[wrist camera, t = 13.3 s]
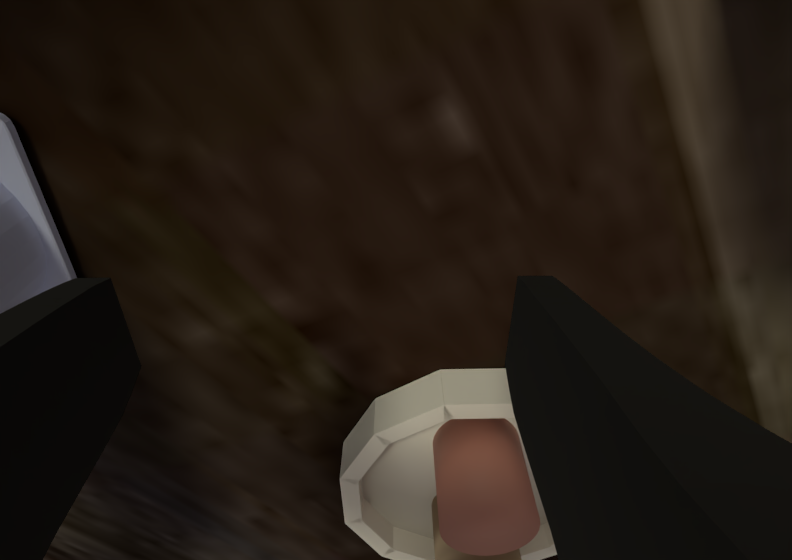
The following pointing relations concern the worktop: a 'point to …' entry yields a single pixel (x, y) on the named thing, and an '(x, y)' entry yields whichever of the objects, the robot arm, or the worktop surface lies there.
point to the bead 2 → (448, 556)
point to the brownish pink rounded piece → (483, 487)
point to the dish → (418, 460)
